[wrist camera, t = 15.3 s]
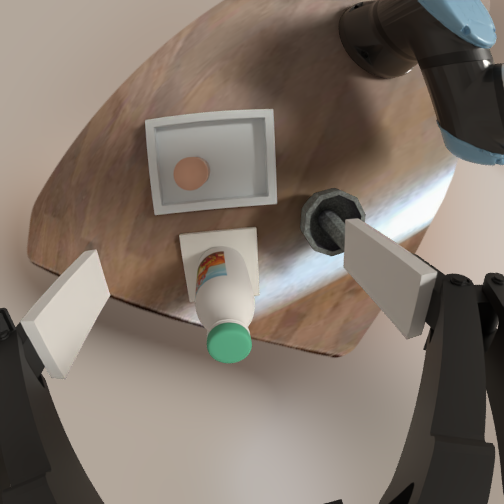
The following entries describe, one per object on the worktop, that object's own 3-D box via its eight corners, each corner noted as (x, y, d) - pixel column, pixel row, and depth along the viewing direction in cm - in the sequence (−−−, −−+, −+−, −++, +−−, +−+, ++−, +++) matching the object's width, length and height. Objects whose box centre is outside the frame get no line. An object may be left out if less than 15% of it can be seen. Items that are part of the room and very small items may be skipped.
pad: (255, 226, 45) (256, 228, 44) (258, 293, 50) (259, 295, 49) (179, 233, 44) (179, 235, 43) (190, 299, 48) (189, 302, 48)
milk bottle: (241, 240, 45) (262, 311, 26) (248, 283, 48) (271, 367, 29) (193, 249, 44) (182, 325, 26) (203, 291, 47) (202, 379, 29)
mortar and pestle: (280, 204, 44) (303, 225, 33) (328, 171, 43) (364, 183, 32) (314, 257, 49) (342, 290, 37) (357, 226, 48) (394, 251, 36)
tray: (269, 110, 39) (273, 109, 36) (273, 200, 44) (277, 203, 42) (148, 121, 37) (145, 120, 35) (157, 211, 42) (154, 215, 40)
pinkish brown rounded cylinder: (216, 168, 40) (213, 170, 35) (198, 192, 41) (193, 197, 36) (192, 150, 39) (186, 150, 34) (174, 174, 40) (166, 177, 35)
